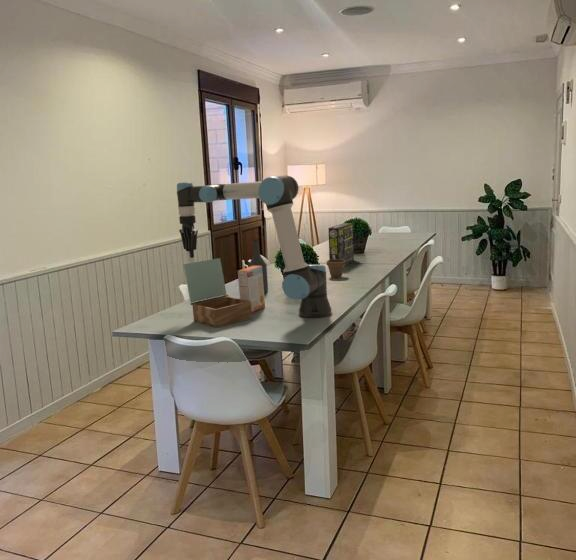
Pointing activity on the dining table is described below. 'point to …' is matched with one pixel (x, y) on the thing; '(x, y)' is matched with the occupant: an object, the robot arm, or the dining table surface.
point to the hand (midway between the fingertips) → (191, 264)
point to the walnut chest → (221, 311)
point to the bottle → (259, 264)
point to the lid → (204, 279)
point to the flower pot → (336, 267)
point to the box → (341, 242)
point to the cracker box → (252, 286)
